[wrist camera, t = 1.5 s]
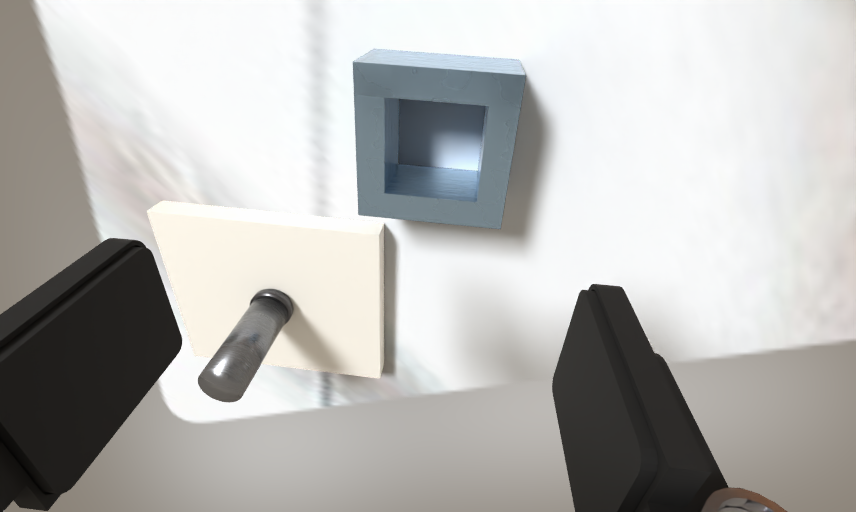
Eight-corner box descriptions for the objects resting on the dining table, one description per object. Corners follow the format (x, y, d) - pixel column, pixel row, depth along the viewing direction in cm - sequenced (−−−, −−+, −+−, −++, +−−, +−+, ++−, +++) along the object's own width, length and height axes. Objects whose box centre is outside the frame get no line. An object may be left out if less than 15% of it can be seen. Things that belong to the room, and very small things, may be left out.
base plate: (384, 222, 26) (379, 235, 25) (384, 363, 32) (380, 378, 31) (162, 200, 27) (146, 211, 26) (205, 341, 33) (194, 355, 32)
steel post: (292, 289, 28) (240, 372, 22) (297, 321, 29) (249, 407, 23) (251, 284, 28) (189, 365, 22) (258, 316, 29) (201, 400, 23)
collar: (519, 59, 20) (526, 75, 17) (498, 195, 24) (500, 229, 21) (373, 49, 21) (352, 61, 18) (375, 183, 25) (358, 215, 21)
